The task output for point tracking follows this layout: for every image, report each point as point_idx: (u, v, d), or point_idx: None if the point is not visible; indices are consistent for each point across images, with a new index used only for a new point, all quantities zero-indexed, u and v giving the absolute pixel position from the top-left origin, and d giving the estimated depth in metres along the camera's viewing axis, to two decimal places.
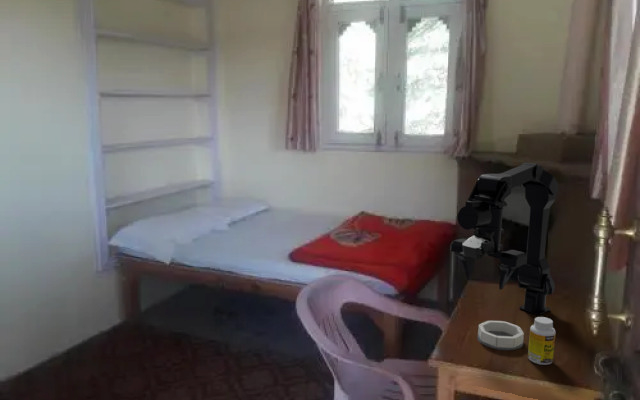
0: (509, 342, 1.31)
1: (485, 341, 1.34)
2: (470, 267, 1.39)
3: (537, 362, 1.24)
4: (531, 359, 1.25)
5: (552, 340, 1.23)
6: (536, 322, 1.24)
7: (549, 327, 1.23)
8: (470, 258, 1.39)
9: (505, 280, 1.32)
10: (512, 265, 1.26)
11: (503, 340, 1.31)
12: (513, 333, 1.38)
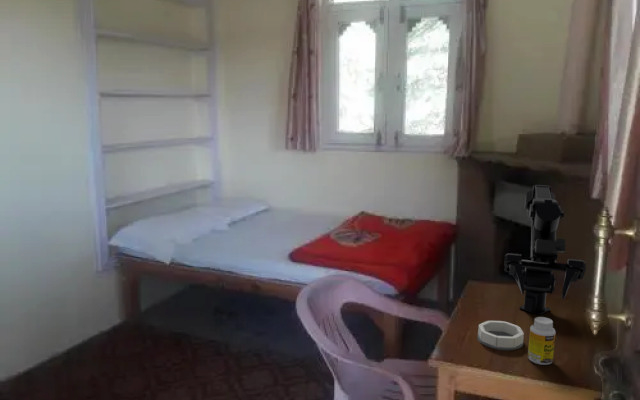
0: (509, 342, 1.31)
1: (485, 341, 1.34)
2: None
3: (537, 362, 1.24)
4: (531, 359, 1.25)
5: (552, 340, 1.23)
6: (536, 322, 1.24)
7: (549, 327, 1.23)
8: None
9: None
10: (583, 267, 1.30)
11: (503, 340, 1.31)
12: (513, 333, 1.38)
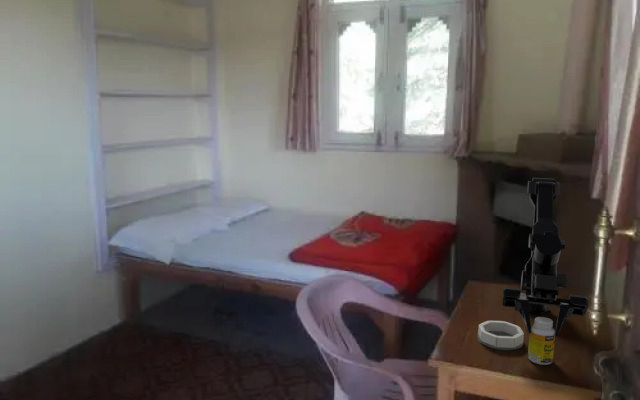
0: (509, 342, 1.31)
1: (485, 341, 1.34)
2: None
3: (537, 362, 1.24)
4: (531, 359, 1.25)
5: (552, 340, 1.23)
6: (536, 322, 1.24)
7: (549, 327, 1.23)
8: None
9: None
10: (585, 303, 1.23)
11: (503, 340, 1.31)
12: (513, 333, 1.38)
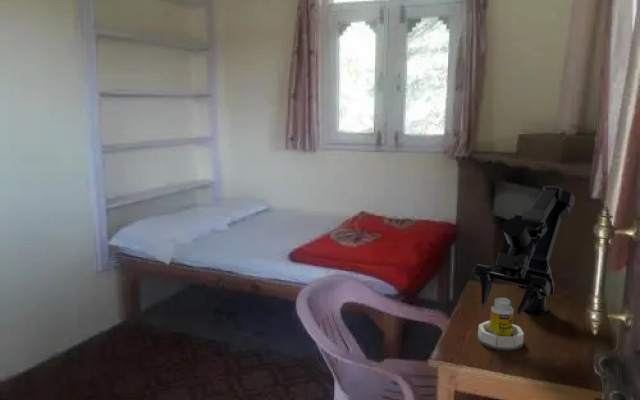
0: (509, 342, 1.31)
1: (485, 341, 1.34)
2: (487, 293, 1.39)
3: None
4: None
5: (507, 319, 1.33)
6: None
7: (505, 307, 1.33)
8: (488, 285, 1.40)
9: (525, 305, 1.32)
10: (542, 284, 1.30)
11: (503, 340, 1.31)
12: (513, 333, 1.38)
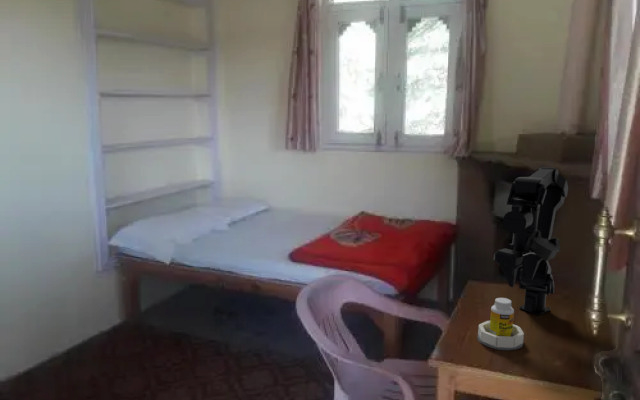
0: (509, 342, 1.31)
1: (485, 341, 1.34)
2: None
3: None
4: None
5: (507, 319, 1.33)
6: (495, 301, 1.35)
7: (505, 307, 1.33)
8: None
9: None
10: None
11: (503, 340, 1.31)
12: (513, 333, 1.38)
